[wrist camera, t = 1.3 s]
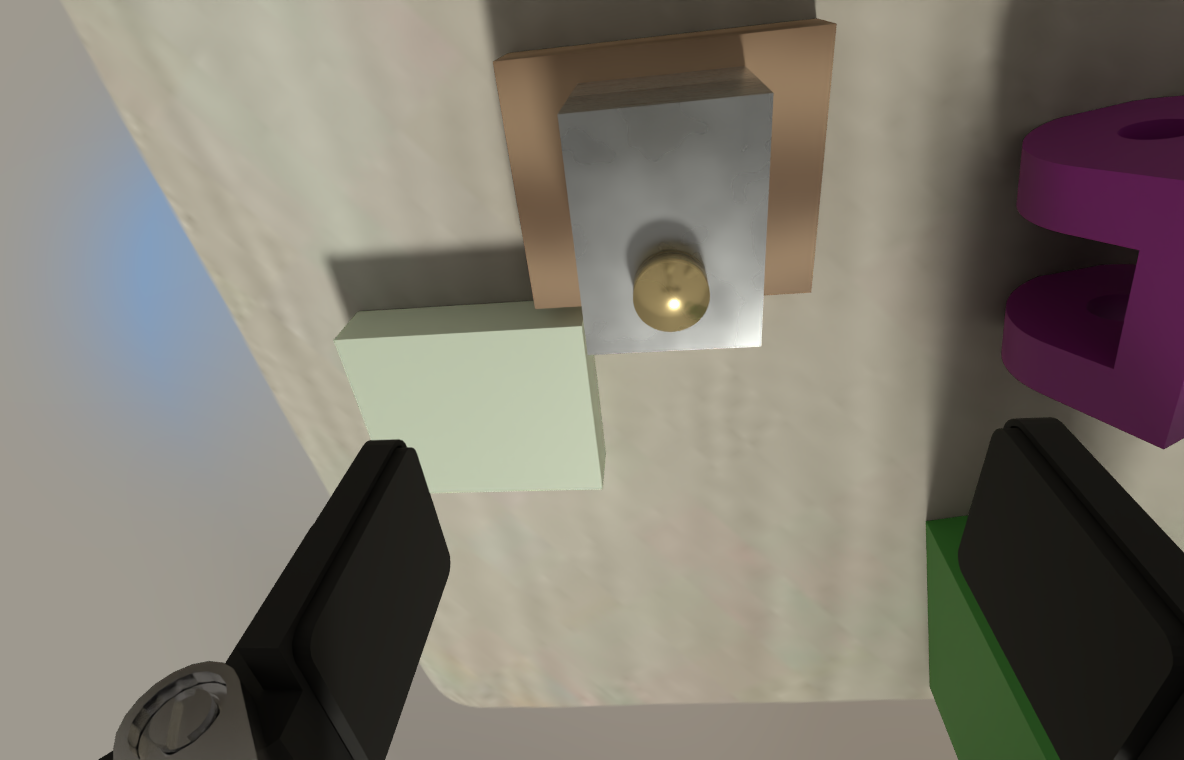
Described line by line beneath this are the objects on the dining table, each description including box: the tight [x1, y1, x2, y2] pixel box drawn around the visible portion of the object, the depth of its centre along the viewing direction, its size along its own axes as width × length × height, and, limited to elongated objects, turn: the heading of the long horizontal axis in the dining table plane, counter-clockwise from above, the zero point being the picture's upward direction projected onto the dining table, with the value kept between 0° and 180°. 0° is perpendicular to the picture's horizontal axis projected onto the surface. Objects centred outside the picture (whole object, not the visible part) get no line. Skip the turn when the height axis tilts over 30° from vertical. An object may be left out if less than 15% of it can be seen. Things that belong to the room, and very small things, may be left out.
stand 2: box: [493, 18, 836, 309], centre depth 26 cm, size 10×12×3 cm
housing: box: [557, 66, 774, 355], centre depth 22 cm, size 8×6×7 cm
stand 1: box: [334, 301, 606, 493], centre depth 33 cm, size 10×12×3 cm
